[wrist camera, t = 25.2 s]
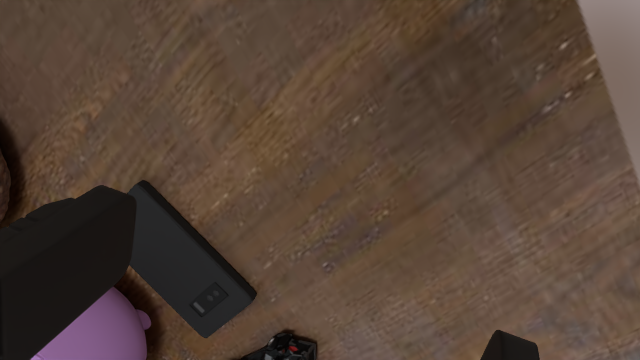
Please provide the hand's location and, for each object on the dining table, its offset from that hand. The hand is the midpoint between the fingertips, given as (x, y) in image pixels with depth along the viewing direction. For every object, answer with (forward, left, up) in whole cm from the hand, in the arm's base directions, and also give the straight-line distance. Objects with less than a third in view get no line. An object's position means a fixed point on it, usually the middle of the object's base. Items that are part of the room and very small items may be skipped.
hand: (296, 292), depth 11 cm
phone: (+29, +1, -30) cm, 42 cm away
